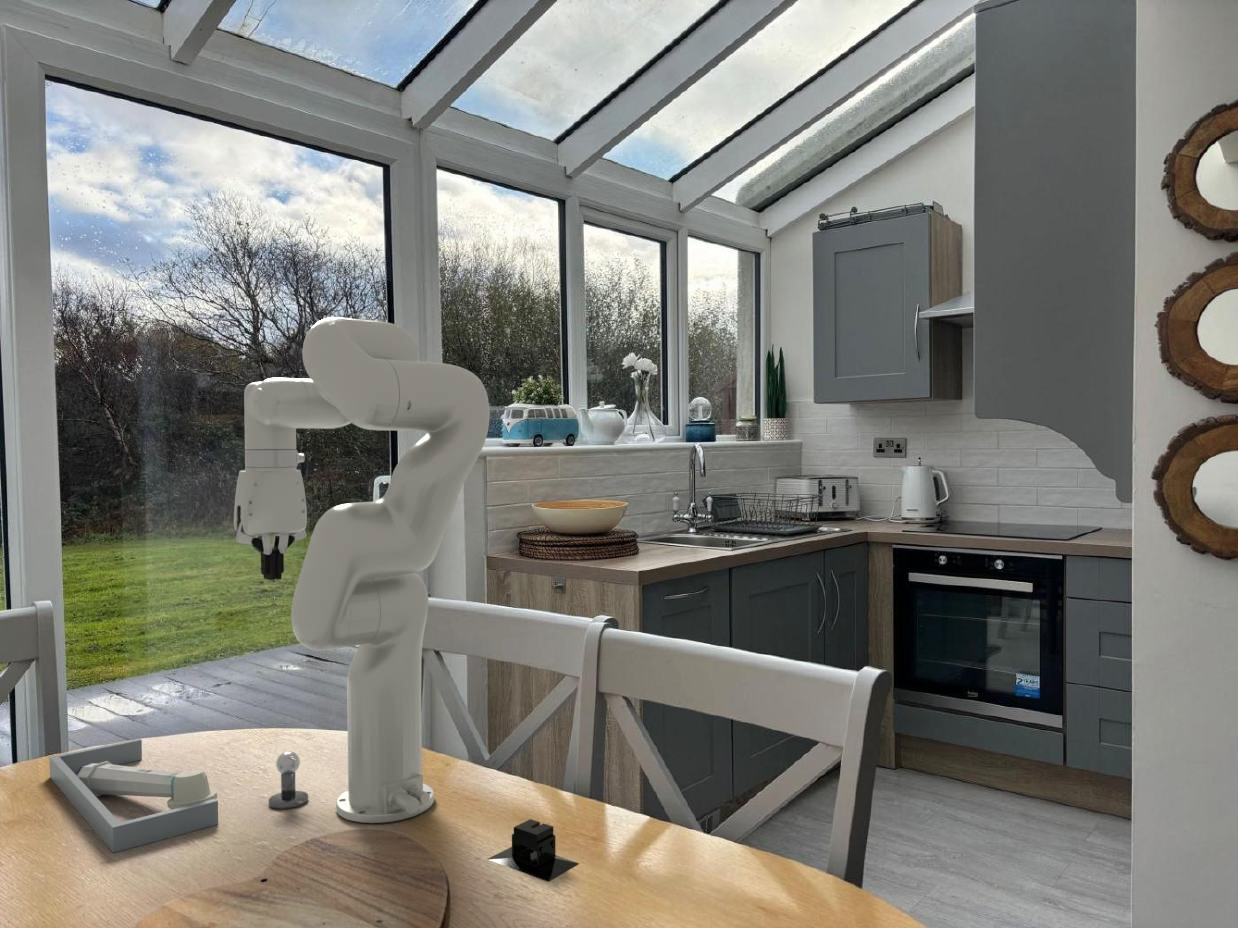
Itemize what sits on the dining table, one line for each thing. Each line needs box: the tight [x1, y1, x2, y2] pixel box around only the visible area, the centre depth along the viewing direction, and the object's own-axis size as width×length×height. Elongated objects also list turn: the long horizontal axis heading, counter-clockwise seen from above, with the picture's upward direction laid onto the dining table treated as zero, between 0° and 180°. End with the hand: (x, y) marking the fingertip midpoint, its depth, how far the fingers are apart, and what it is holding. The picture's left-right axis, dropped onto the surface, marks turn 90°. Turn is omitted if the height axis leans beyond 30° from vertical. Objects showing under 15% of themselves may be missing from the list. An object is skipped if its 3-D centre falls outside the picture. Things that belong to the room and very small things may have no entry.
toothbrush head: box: [75, 761, 218, 810], centre depth 123 cm, size 5×7×25 cm
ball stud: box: [268, 750, 309, 810], centre depth 124 cm, size 5×5×7 cm
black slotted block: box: [487, 818, 580, 882], centre depth 106 cm, size 12×7×5 cm, turn 53°
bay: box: [49, 738, 219, 854], centre depth 125 cm, size 34×12×3 cm, turn 42°
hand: (272, 578), depth 144 cm, fingers closed
